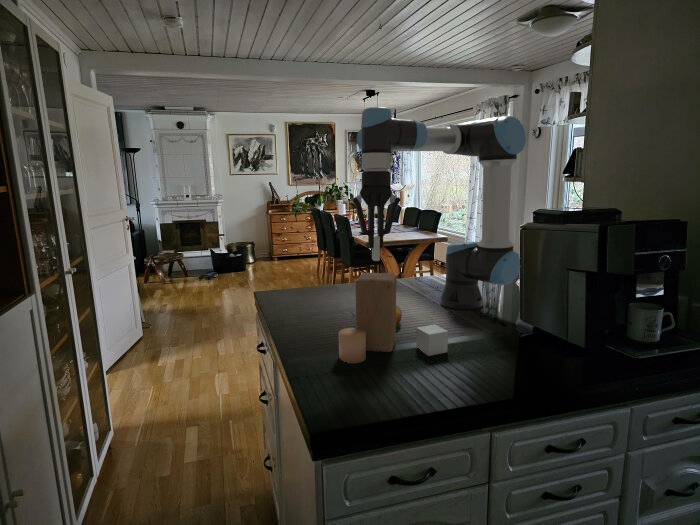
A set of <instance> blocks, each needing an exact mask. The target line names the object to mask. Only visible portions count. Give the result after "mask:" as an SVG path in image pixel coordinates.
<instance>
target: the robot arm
mask: <svg viewBox="0 0 700 525" xmlns="http://www.w3.org/2000/svg"><path fill="white" fill-rule="evenodd" d="M360 127H361V128H360V130H358V132H357V135H356V143H357V144H356V145H357V147H358V148H359V149H360V150H361V170H363V171H362V172H361V187H360V188H361V189H360V190H359V194H358V195H356V196H355V197H352V198H351V202H352V203H353V205H354V207H355V210H356V214H357V219H358V223H359V227H360V230H361V233H362V234H364V235H366V236H367V237H368V239H367V240H368V241H367V243H368V245H367V246H368V248H369V249H371V259H372V260H373V262H379V261H381V260H380V259H381V258H380V255H381V253H380V251H381V250H380V249H383V248H384V236H385V235H387V234H390V233H391V231H392V226H393V223H394V218H395V215H396V210H397V207H398V205H399V203H400V202H401V197H398V196H396V195H395V194H394V193H393V191H392V188H391V181H392V180H391V174H392V173H391V171H389V170H390V169H391V168H392V167H391V165H392V164H391V162H392V156H391V155H392V154H391V153H392V152H443V153H444V154H445V155H457V156H460V155H461V156H466V157H478V163H479V164H480V165H481V166H482V167H483V168H482V170H483V171H482V182H483V183H482V210H481V211H482V213H481V214H482V215H481V216H482V217H481V218H482V220H481V221H482V222H481V240H479V241H464V242H453V243H450V244H448V245H447V246H446V252H445V253H446V254H445V284H444V287H443V289H442V292H441V295H440V300H439V302H440V305H441V306H444V307H446V308H448V309H455V310H476V309H479V308H481V307H482V306H483V297H482V292H481V290H480V287H479V282H484V283H489V284H492V285H499V286H507V285H509V284H511V283H512V282H513V281H514V280H515V279H516V277H517V276H518V274H519V272H520V269H521V265H520V259H521V257H520V255H519V253H518V252H517V251H514V243H513V242H512V241H511V240H510V218H511V217H510V216H511V215H510V212H511V182H512V166H513V164H514V163H515V162H516V161H517V160H518V154H520V153H521V152H522V151H523V150H524V148H525V146H526V140H527V139H526V130H525V128H524V126H523V124H522V123H521V121H520V119H518V118H517V117H516V116H513V115H512V116H511V115H504V116H503V115H502V116H496V117H495V116H494V117H488V118H485V119H484V118H483V119H478V120H471V121H468V122H462V123H458V124H454V123H453V124H451V123H449V124H446V126H444V127H443V126H440V127H439V126H426V124H425V123H424V122H422V121H419V120H416V119H403V118H394V117H393V115H392V110H391V109H390V108H388V107H385V106H374V107H368V108H365V109H364V110H362V114H361V125H360ZM362 200H363V202H364V203H365V204H366V205H367V223H366V219H365V214H364V211H363V207H362V206H363V205H362ZM388 201H389V203H390V204H389V208H388V212H387V216H386V219H385V205H386V204H387V202H388ZM376 209H377V210H376ZM375 211H377V216H376V217H377V218H376V219H377V226H376V227H377V230H376V231H377V232H376V233H377V234H376V235H375Z"/></svg>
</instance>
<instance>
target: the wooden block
mask: <svg viewBox="0 0 700 525" xmlns="http://www.w3.org/2000/svg"><path fill="white" fill-rule="evenodd" d="M396 304H397V275H396V274H395V273H387V272H363V273H361V274H360V275H359V276H358V278H357V279H356V280H355V328H359V329H363V330H365V331H366V352H367V351H368V352H380V351H381V352H380V353H391V352H392V351H393V350H394V345H395V343H396V340H397V339H396V338H397V337H396V336H397V332H396V331H397V330H396V328H397V326H396Z"/></svg>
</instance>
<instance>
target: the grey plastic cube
mask: <svg viewBox="0 0 700 525" xmlns="http://www.w3.org/2000/svg"><path fill="white" fill-rule="evenodd" d="M415 331H416V332H415V334H416V339H415V340H416V341H415V348H416V347H417V348H419V349H420V350H421V351H422V353H423V354H425V355H426V356H428V357H431V356H434V355H440V354H445V353H448V348H449V347H448V343H449V341H448V340H449V337H448V336H449V331H448V330H446V329H445V328H442V327H441V326H439V325H437V324H429V325H424V326H419V327H416V330H415ZM417 348H416V349H417ZM420 350H419V351H420ZM421 351H420V352H421Z"/></svg>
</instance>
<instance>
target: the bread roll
mask: <svg viewBox="0 0 700 525" xmlns="http://www.w3.org/2000/svg"><path fill="white" fill-rule="evenodd" d="M402 313H403V312H402V309H401V307H400V305H398V304H397V303H396V327H397V326H398V325H399V324H400V322H401V320H402V315H403V314H402Z"/></svg>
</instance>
